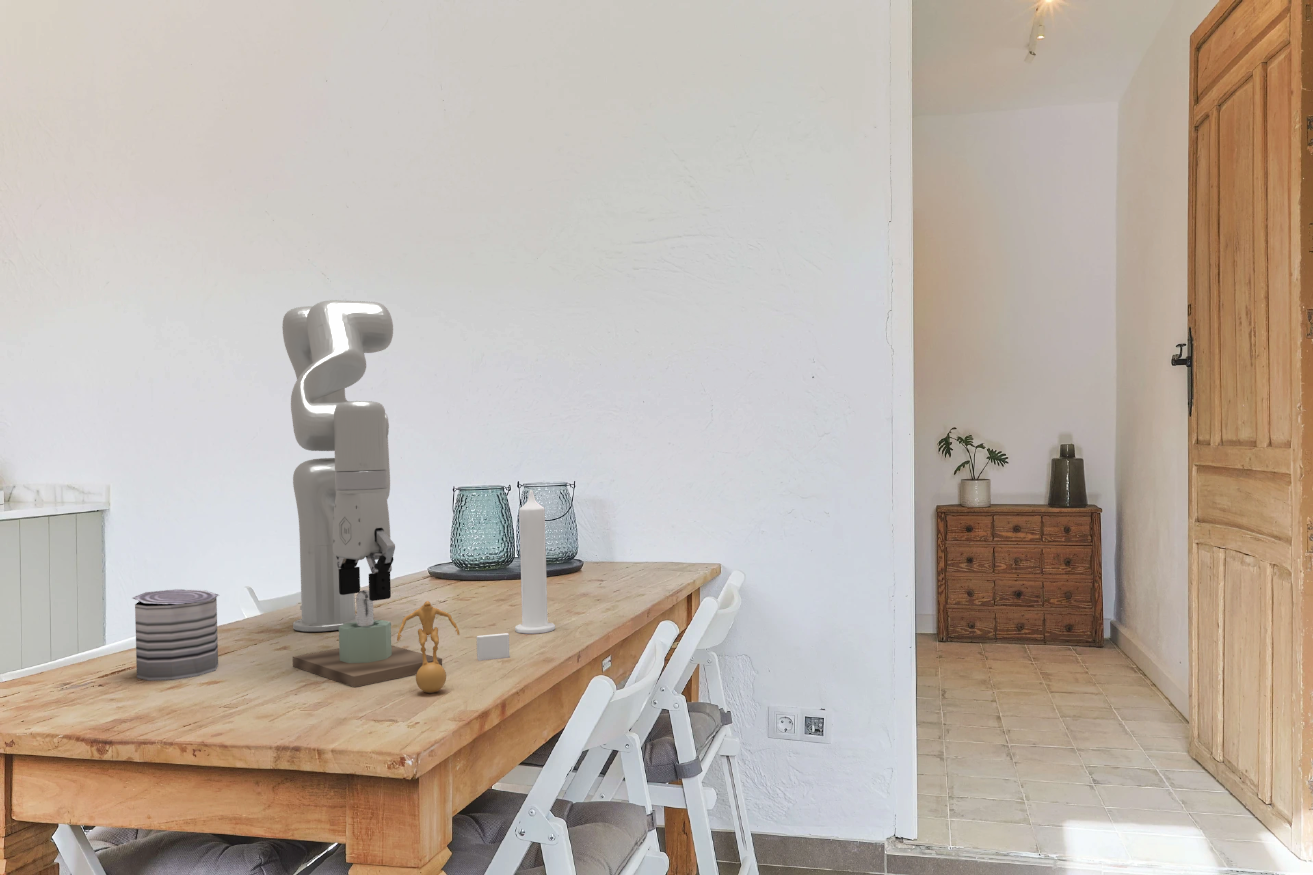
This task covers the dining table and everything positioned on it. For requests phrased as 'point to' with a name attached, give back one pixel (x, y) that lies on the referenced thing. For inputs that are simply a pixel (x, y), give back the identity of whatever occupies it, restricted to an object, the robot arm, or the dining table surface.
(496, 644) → the eraser
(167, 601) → the can
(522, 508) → the candle
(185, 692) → the dining table surface
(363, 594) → the post
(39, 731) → the dining table surface
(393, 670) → the stand board
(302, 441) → the robot arm
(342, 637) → the bead
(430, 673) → the figurine
